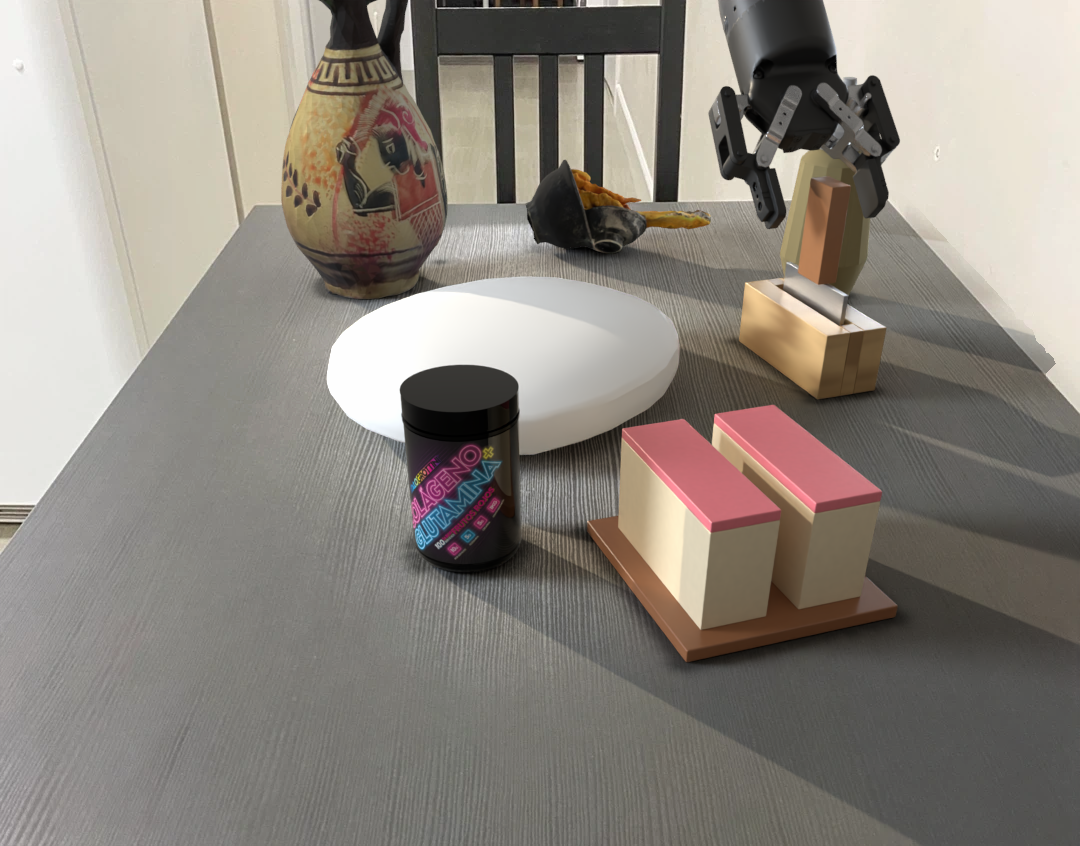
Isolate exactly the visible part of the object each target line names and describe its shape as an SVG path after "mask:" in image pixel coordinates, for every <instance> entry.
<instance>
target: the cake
mask: <svg viewBox="0 0 1080 846" xmlns="http://www.w3.org/2000/svg"><path fill="white" fill-rule="evenodd" d="M713 418H714V419H713V428H712V438H711V443H710V441H708V440H707V439H706V438H705V437H704V436H703V435H702V434H701V433H700V432H698V430H697V429H696V428H694V426H693V425H691V424H690V423H689V422H688V421H687V420H686V419H684V418H680V419H675V420H673V419H672V420H668V421H662V422H661V421H660V422H655V423H654V422H653V423H649V424H642V425H636V426H630V427H623V428H622V429H621V444H620V445H621V447H620V448H621V449H620V470H619V471H620V473H619V497H618V515H613V516H607V517H603V518H602V517H601V518H595V519H590V520H587V522H586V532H587V534H588V535H589V536H590V537H591V539H592V540H593V541H594V543H595V544H596V545H597V547H598V548H599V549H600V551H601V552H602V553H603V554H604V556H605V557H606V558H607V560H608V561H609V562H610V564H611V565H612V566H613V568H614V569H615V570H616V572H617V573H618V574H619V576H620V577H621V579H622V580H623V581H624V583H626V585H627V587H628V588H629V589H630V590H631V592H632V593H633V594H634V595H635V597H636V598H637V600H638V601H639V602H640V603H641V605H642V606H643V607H644V609H645V610H646V611H647V613H648V614H649V615H650V617H651V618H652V619H653V621H654V622H655V624H656V625H657V626H658V627H659V629H660V630H661V631H662V632H663V634H664V635H665V637H666V638H667V639H668V640H669V642H670V643H671V645H672V646H673V647H674V648H675V650H676V651H677V652H678V654H679V655H680V656H681V658H682V659H683V660H684V662H685V663H691V662H694V661H699V660H704V659H708V658H709V659H710V658H713V657H718V656H723V655H726V654H731V653H736V652H741V651H745V650H750V649H755V648H760V647H764V646H768V645H772V644H778V643H781V642H786V641H791V640H796V639H801V638H805V637H810V636H815V635H818V634H823V633H827V632H833V631H837V630H842V629H847V628H850V627H856V626H859V625H864V624H869V623H874V622H879V621H882V620H887V619H891V618H895V617H897V611H898V608H899V607H898V604H896V602H895V601H893V600H892V598H890V596H888V595H887V594H886V593H885V592H884V591H882V589H880V588H879V587H878V585H876V584H875V583H874V582H873V581H872V580H871V579H870V578H869V577H867V575H866V574H867V573H866V572H867V568H868V564H869V559H870V554H871V549H872V544H873V539H874V536H875V535H874V534H875V529H876V525H877V521H878V515H879V510H880V507H881V500H882V497H883V496H882V495H883V491H882V490H881V489H880V488H879V487H878V486H876V485H875V484H874V483H873V482H871V481H870V480H869V479H868V478H866V477H865V476H864V475H863V474H861V473H860V472H859V471H858V470H857V469H855V468H854V467H852V466H851V465H850V464H848V462H846V461H845V460H844V459H843V458H841V457H840V456H839V455H838V454H836V453H835V452H834V451H832V450H831V449H830V448H829V447H827V446H826V445H825V444H823V443H822V442H821V441H820V440H819V439H818V438H816V437H815V436H814V435H812V434H811V433H810V432H809V431H808V430H806V429H805V428H804V427H802V426H801V425H800V424H799V423H797V422H796V421H795V420H794V419H792V418H791V417H790V416H788V415H787V414H786V413H785V412H784V411H783V410H781V409H780V408H779V407H778V406H776V405H775V404H770V405H769V404H768V405H763V406H756V407H750V408H745V409H738V410H730V411H725V412H719V413H718V412H717V413H715V414H714V417H713Z"/></svg>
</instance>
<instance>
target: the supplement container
mask: <svg viewBox="0 0 1080 846" xmlns="http://www.w3.org/2000/svg"><path fill="white" fill-rule="evenodd" d="M400 400H401V411H402V413H401V417H402V422H403V426H404V437H405V443H404V448H405V459H406V469H407V478H408V479H407V480H408V489H409V491H408V492H409V501H410V510H411V523H412V533H413V544H414V547H415V549H416V551H417V553H418V554H419V556H420V557H421V558H422V559H423V560H424V561H425V562H426V563H428V564H429V565H430V566H432V567H433V568H436V569H439V570H442V571H446V572H451V573H458V574H471V573H473V574H474V573H480V572H486V571H490V570H493V569H496V568H498V567H500V566H502V565H504V564H505V563H507V562H509V561H510V560H511V559H512V558H513V557H514V556H515V554H516V553H517V552H518V551H519V548H520V546H521V543H522V504H521V503H522V502H521V500H522V499H521V498H522V497H521V461H520V460H521V459H520V458H521V455H520V451H519V416H520V409H519V385H518V382H517V380H516V379H515V378H514V377H513V376H511V375H510V374H508V373H506V372H504V371H502V370H499V369H495V368H491V367H486V366H479V365H448V366H441V367H435V368H431V369H427V370H424V371H421V372H418V373H416V374H414V375H412V376H410V377H409V378H407V379H406V380H405V381H404V382H403V383H402V384H401V386H400Z"/></svg>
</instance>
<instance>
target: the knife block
mask: <svg viewBox="0 0 1080 846" xmlns="http://www.w3.org/2000/svg"><path fill="white" fill-rule="evenodd" d="M783 286H784V277H777V278H770V279H761V280H754V281H746V282H744V289H743V290H744V291H743V300H742V309H741V317H740V328H739V335H738V336H739V337H738V341H739V342H740V343H741V344H742V345H743V346H744V347H746V348H747V349H748V350H750V351H752V352H753V353H754V354H755V355H757V356H758V357H760V358H761V359H763V361H764V362H766V363H768V364H769V365H770V366H771V367H773V368H774V369H776V370H777V371H778V372H780V373H781V374H783V375H784V376H785V377H786V378H788V379H789V380H790V381H792V382H793V383H794V384H796V385H797V386H798V387H800V388H801V389H803V390H804V391H805V392H807V393H808V394H809V395H810V396H812V397H813V398H814V399H815V400H823V399H830V398H836V397H841V396H847V395H852V394H861V393H867V392H872V391H875V390H876V385H877V381H878V375H879V370H880V365H881V359H882V354H883V349H884V346H885V345H884V344H885V339H886V333H887V330H888V329H887V326H885V325H883V324H881V323H880V322H878V321H876V320H875V319H873V318H871V316H870V317H869V316H868V315H867V314H864V313H863V312H861V311H859V310H857V309H856V308H854V307H853V306H851V305H850V304H848V303H847V309H846V315H845V321H844V325H843V326H838V325H837V324H835V323H834V322H832V321H830V320H829V319H827V318H826V317H824V316H823V315H821V314H819V313H818V312H816V311H815V310H813V309H811V308H810V307H808V306H807V305H805V304H804V303H802V302H800V301H799V300H797V299H796V298H794V297H792V296H791V295H789V294H788V293H786V292H785V291H783Z"/></svg>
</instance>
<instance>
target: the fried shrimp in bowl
mask: <svg viewBox="0 0 1080 846" xmlns="http://www.w3.org/2000/svg"><path fill="white" fill-rule="evenodd" d="M590 181H591V176H590V175H589V174H588V172H586V171H583V170H580V169H576V168H575V169H574V168H571V166H570V164H569V161H568V160H567V159H562V161H561V163H560V165H559V167H558V168H556V169H555V170H553V171H551V172H549V173H548V174H547V175H545V177H544V178H543V179H542V180H541V182H540V183H539V185H538V186H537V187H536V190H535V192H534V194H533V196H532V199H531V200H530V201H528V202H526V203H525V208H526V221H527V222H528V224H529V226H530V229H531V230H532V234H533V240H534V241H535V243H536V244H537V245H539V244H542V243H546V244H550V245H552V246H554V247H556V248H560V249H567V250H568V249H569V250H570V249H571V250H572V249H573V250H574V249H577V248H588V249H591V250H594V251H595V252H598V253H599V252H600V253H603V254H615V253H618V252H620V251H621V250H622V249H623V247H625V246H628V245H630V244H632V243H634V242H635V241H636V240H637V239H638V238H640V237H641V236H643V234H645V232H646V230H647V229H649V228H661V229H668V230H677V229H686V230H687V231H688V230H693V229H698V228H703V227H706V226H709V225H710V224H711V221H712V216H711V214H710V213H708V212H706V211H704V210H700V209H696V210H695V211H691V210H688V211H687V210H686V211H685V210H679V211H677V210H664V211H658V210H644V211H642V210H641V211H639V210H633V209H631V207H630V206H629V204H630V203H633V204H635V203H639V202H642V199H641V198H636V197H625V196H623V195H621V194H619V193H616V192H613V191H612V190H609V189H607V188H605V187H604V186H598V185H597V184H596V183H591V182H590Z"/></svg>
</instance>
